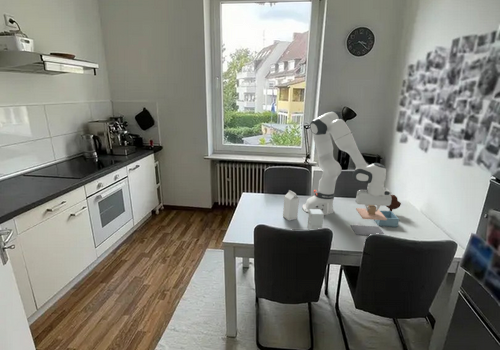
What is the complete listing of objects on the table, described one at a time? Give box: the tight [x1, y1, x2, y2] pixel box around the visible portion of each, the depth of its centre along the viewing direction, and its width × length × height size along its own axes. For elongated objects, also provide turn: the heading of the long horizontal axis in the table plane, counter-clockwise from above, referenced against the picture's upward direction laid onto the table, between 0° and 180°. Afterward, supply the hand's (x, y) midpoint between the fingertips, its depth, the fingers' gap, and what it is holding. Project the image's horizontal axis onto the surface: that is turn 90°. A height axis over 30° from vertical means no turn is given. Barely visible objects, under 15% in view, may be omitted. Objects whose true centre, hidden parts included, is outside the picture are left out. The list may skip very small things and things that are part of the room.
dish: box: [373, 210, 400, 228], centre depth 187 cm, size 12×12×6 cm
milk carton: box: [282, 189, 300, 221], centre depth 186 cm, size 7×7×19 cm
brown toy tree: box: [385, 194, 402, 212], centre depth 200 cm, size 11×11×15 cm
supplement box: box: [307, 209, 325, 230], centre depth 172 cm, size 7×7×13 cm
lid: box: [355, 205, 387, 221], centre depth 171 cm, size 14×14×6 cm
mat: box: [350, 224, 385, 237], centre depth 175 cm, size 18×12×1 cm, turn 87°
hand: (371, 211), depth 171 cm, fingers closed on lid, 3 cm apart
